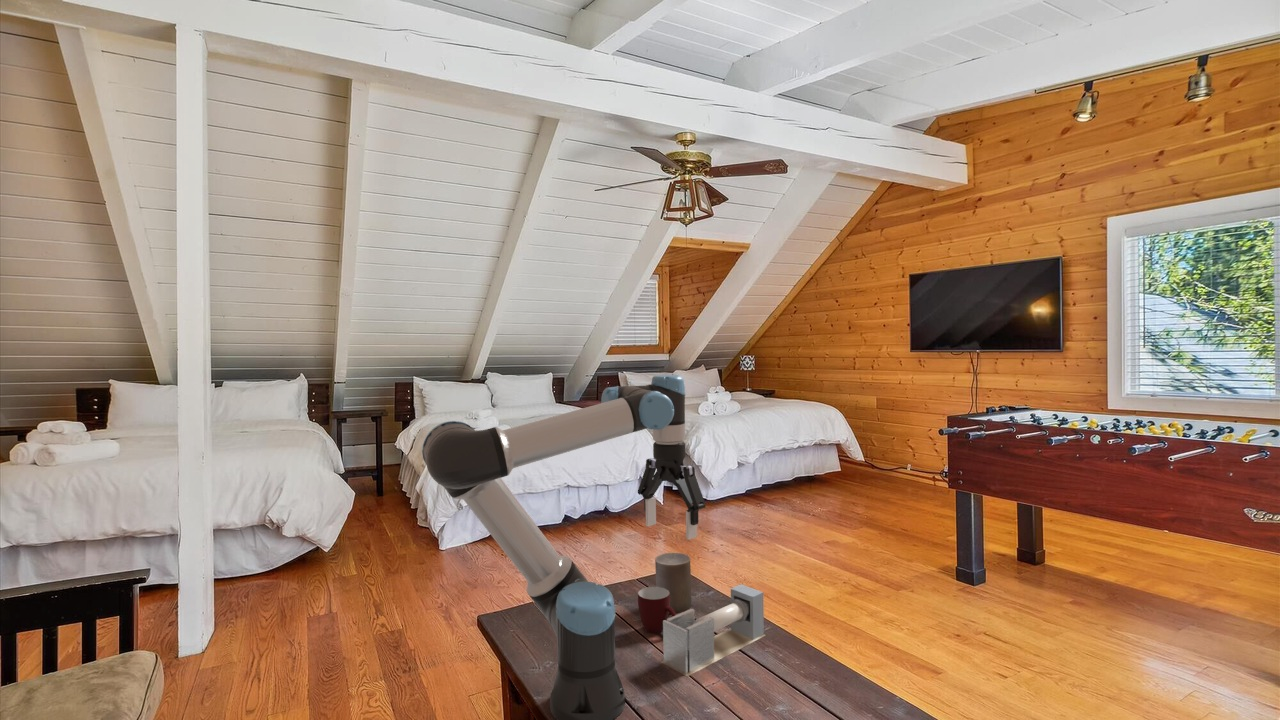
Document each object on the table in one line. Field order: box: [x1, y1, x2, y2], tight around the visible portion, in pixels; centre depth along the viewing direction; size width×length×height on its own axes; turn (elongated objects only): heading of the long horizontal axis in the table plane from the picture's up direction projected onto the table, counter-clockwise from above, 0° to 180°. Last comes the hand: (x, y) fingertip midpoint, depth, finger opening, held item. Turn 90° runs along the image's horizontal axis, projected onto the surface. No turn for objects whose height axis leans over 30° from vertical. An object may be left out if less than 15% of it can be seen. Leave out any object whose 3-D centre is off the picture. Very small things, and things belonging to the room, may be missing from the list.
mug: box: [637, 586, 677, 634], centre depth 164 cm, size 11×8×10 cm
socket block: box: [730, 583, 765, 640], centre depth 162 cm, size 4×7×10 cm, turn 41°
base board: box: [660, 627, 766, 677], centre depth 154 cm, size 28×8×1 cm, turn 131°
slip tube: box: [693, 599, 750, 633], centre depth 156 cm, size 18×5×5 cm, turn 131°
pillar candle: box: [654, 552, 693, 616], centre depth 178 cm, size 10×10×15 cm
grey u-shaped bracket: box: [662, 608, 715, 676], centre depth 148 cm, size 9×7×10 cm
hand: (670, 531), depth 153 cm, fingers open, 13 cm apart
